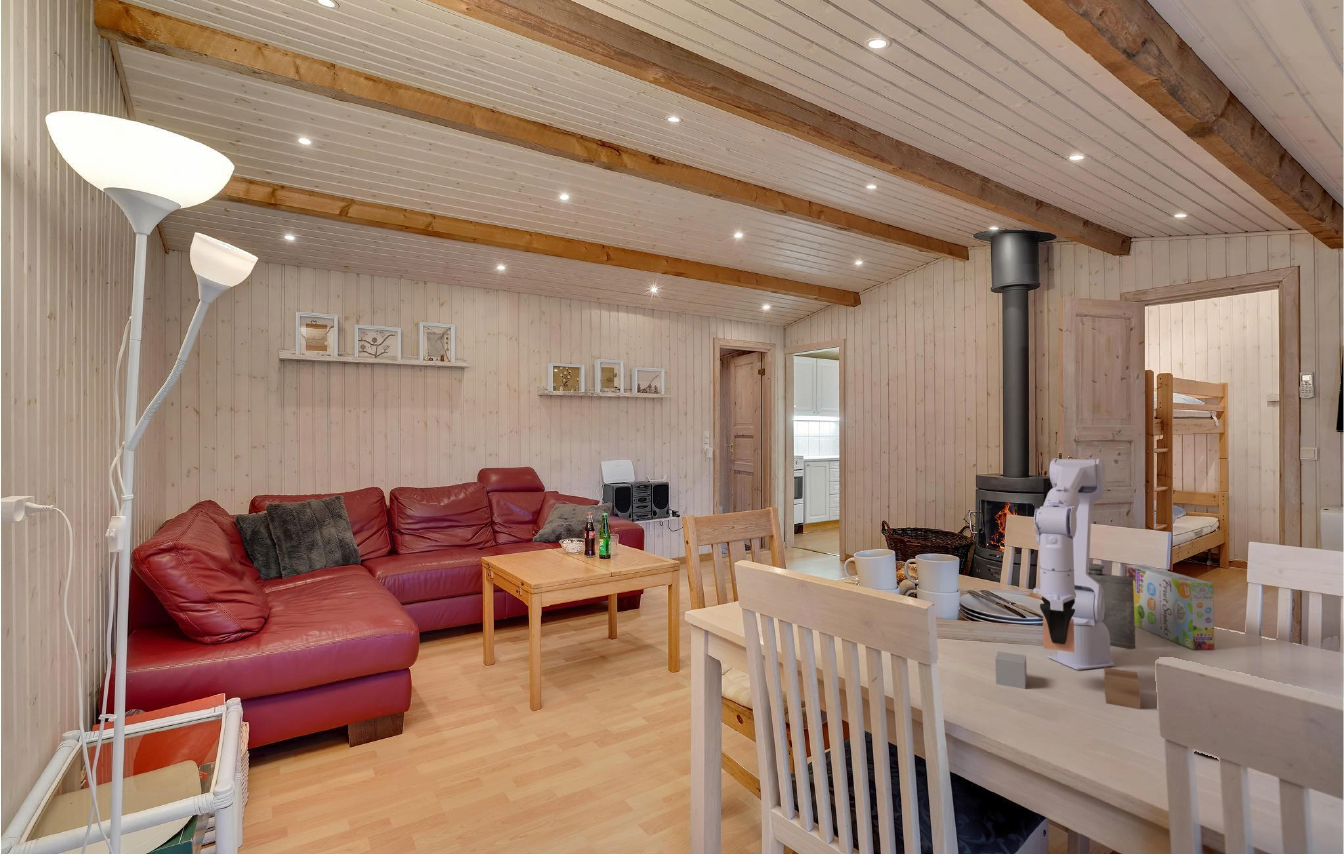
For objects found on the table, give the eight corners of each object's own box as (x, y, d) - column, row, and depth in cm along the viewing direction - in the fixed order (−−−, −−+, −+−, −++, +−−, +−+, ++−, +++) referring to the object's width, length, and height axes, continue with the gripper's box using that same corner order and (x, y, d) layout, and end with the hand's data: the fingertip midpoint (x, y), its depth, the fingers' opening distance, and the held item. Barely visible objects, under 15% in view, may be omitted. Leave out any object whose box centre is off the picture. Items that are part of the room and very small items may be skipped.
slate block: (998, 675, 126) (997, 651, 127) (1026, 680, 124) (1026, 655, 124) (996, 684, 122) (995, 658, 122) (1025, 689, 120) (1024, 663, 120)
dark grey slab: (1131, 650, 139) (1128, 570, 139) (1061, 634, 150) (1059, 560, 151) (1137, 647, 141) (1134, 567, 141) (1067, 631, 152) (1065, 558, 153)
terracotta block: (1044, 640, 123) (1043, 615, 123) (1074, 644, 121) (1073, 618, 121) (1043, 647, 119) (1042, 621, 119) (1074, 652, 116) (1073, 625, 117)
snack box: (1217, 650, 138) (1215, 582, 138) (1192, 650, 138) (1190, 583, 138) (1146, 621, 159) (1144, 563, 159) (1124, 622, 159) (1122, 563, 160)
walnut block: (1105, 693, 117) (1104, 667, 117) (1138, 699, 114) (1137, 672, 114) (1106, 703, 113) (1105, 676, 113) (1140, 709, 110) (1139, 681, 110)
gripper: (1034, 559, 128) (1036, 625, 128) (1030, 573, 116) (1032, 646, 116) (1075, 563, 125) (1077, 630, 124) (1075, 577, 112) (1077, 652, 112)
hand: (1058, 638), depth 120 cm, fingers closed on terracotta block, 5 cm apart
